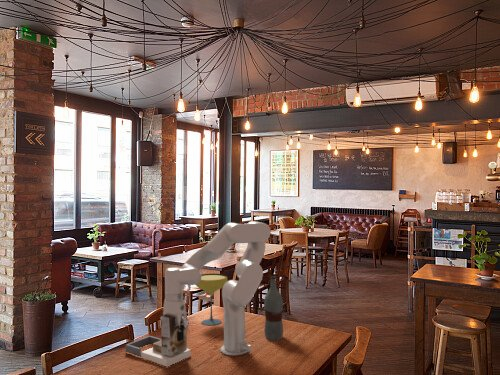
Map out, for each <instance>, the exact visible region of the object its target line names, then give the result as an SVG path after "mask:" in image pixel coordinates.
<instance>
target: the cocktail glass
mask: <svg viewBox="0 0 500 375" xmlns="http://www.w3.org/2000/svg"><path fill="white" fill-rule="evenodd" d="M201 274H202V278H201V281H200V282H199V283H198V284H195V285H194V286H196V287H197V288H198V289H200V290H202V291H205V292H206V293H207V294H208V295H209V296H210V316H209V318H207V319H203V320H202V321H201V324H202V325H204V326H218V325H220V324H221V323H222V320H221V319H218V318H214V317H213V298H212V297H213V295H214V294H215V293H216V292H217V291H219V290H221V289H223V286H224V284H225V283H226V282H227V281H229V280H228V276H227V275H226V274H223V273H204V274H203V273H201Z"/></svg>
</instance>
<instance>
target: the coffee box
mask: <svg viewBox="0 0 500 375" xmlns="http://www.w3.org/2000/svg"><path fill="white" fill-rule="evenodd" d="M161 316H162V321H161V333H160V334H161V336H160V337H161V338H160V339H161V341H162V342H161V353H163V354H165V355H168V356H173V355H176V354H178V353H181V352H183V351H186V350H187V349H188V346H187V341H188V340H187V331H188V330H187V329H188V328H187V327H188V326H187V327H186V329H185V330H184V339H183V340H181V341H178V340H177V332H179V331H178V328H177V325H176V320H175V317H173V316H169V315H163V314H162V315H161ZM187 317H188V315H187V312H186V320H187V321H188V319H187ZM180 323H181V322H180ZM183 324H184V323H183ZM180 328H181V325H180Z"/></svg>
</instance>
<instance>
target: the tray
mask: <svg viewBox="0 0 500 375" xmlns="http://www.w3.org/2000/svg"><path fill="white" fill-rule="evenodd" d="M160 340H161V338H159V337H156V336H152V335H147V336H145V337H143V338H139V339H137V340H134V341H132V342H128V343H127V344H125V353H126V352H129V353H132V354H134V355H137V356H140V357H141V348H140V347H143V346H145V345H148V344H152V345H153V343H155V342H158V341H160Z"/></svg>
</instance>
